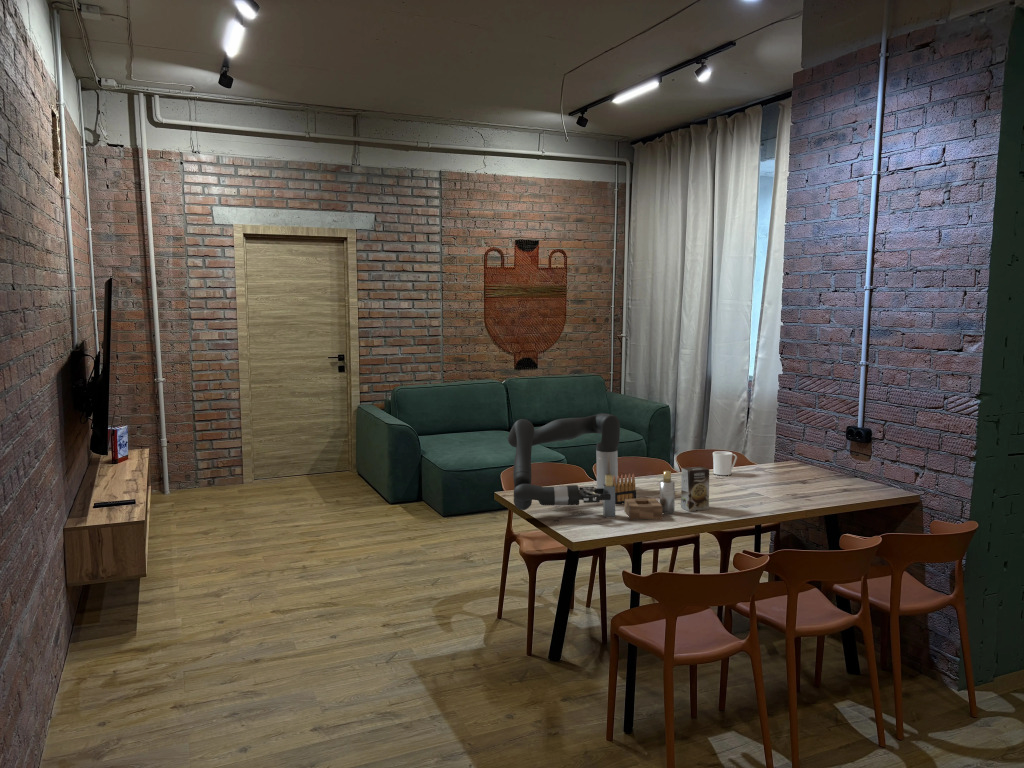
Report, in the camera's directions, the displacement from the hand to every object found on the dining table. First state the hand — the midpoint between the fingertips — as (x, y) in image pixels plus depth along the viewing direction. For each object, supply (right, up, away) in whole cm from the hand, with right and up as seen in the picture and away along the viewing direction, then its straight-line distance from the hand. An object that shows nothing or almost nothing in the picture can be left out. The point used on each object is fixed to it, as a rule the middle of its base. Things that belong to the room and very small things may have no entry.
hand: (608, 493), depth 274 cm
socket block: (+13, -8, +2) cm, 16 cm away
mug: (+64, -1, +66) cm, 91 cm away
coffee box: (+35, -7, +9) cm, 37 cm away
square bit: (0, -9, +1) cm, 9 cm away
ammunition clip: (+9, -7, +19) cm, 23 cm away
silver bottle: (+23, -8, +5) cm, 25 cm away
